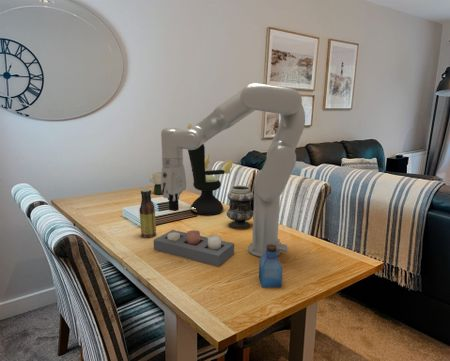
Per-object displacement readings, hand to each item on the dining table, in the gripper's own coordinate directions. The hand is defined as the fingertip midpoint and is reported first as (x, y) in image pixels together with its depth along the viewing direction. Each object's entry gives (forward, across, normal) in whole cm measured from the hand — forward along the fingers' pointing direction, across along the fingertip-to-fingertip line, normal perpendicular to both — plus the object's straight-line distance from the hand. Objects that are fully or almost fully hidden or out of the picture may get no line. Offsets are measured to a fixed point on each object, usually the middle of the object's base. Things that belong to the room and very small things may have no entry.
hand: (173, 210), depth 129 cm
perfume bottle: (+15, -7, -42) cm, 45 cm away
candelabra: (+15, +43, +12) cm, 47 cm away
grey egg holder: (+15, 0, -9) cm, 17 cm away
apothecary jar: (+15, +34, -12) cm, 39 cm away
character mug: (+15, +59, +54) cm, 82 cm away
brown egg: (+12, 0, -9) cm, 15 cm away
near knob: (+12, 0, -18) cm, 22 cm away
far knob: (+15, 0, 0) cm, 15 cm away
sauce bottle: (+15, +4, +16) cm, 23 cm away
